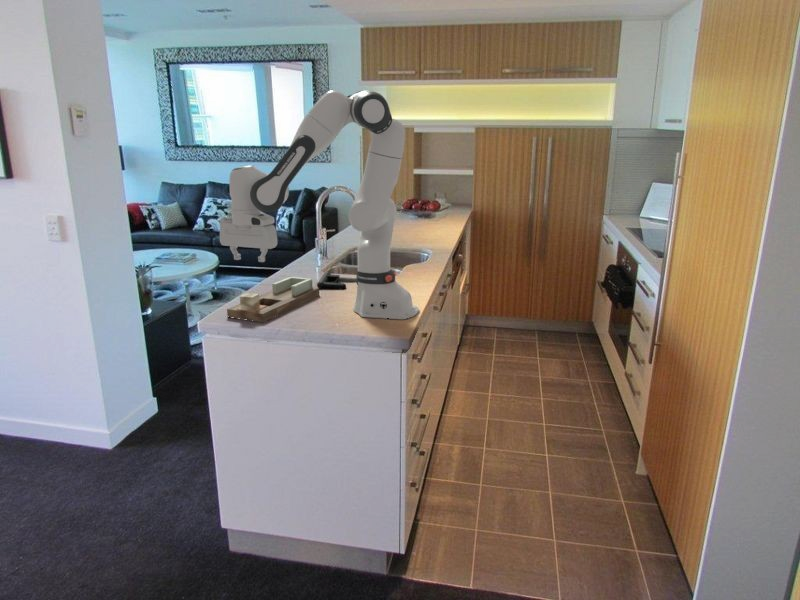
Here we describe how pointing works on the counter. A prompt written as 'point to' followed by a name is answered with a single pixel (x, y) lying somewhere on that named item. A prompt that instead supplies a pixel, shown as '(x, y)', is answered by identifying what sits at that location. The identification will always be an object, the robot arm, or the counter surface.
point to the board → (274, 304)
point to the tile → (254, 310)
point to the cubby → (293, 285)
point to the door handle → (328, 278)
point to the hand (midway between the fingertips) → (249, 260)
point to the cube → (249, 301)
